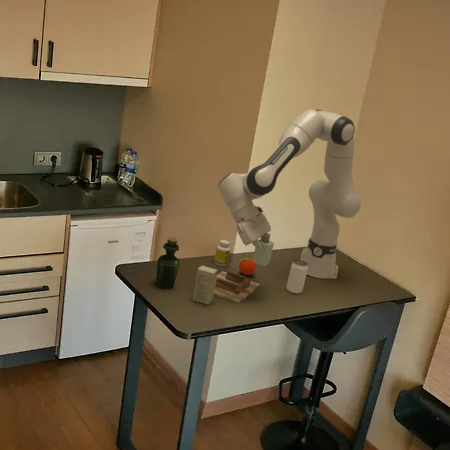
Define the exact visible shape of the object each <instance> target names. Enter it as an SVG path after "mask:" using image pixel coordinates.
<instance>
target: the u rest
mask: <svg viewBox="0 0 450 450" xmlns="http://www.w3.org/2000/svg"><path fill="white" fill-rule="evenodd" d="M259 287H260V284H259V283H256V282H254V281H252V280H251V278H250V277H248V276H245V275H242V274H239V273H235V272H233V271H230V270H228V271H227V272H225V271H221V272H219V273H217V277H216V283H215V288H214V294H213V295H216V296H218V297H220V298H223V299H226V300H229V301H232V302H234V303H237V304H241V302H242V301H244V300H245V299H246V298H247V297H248V296H250V295H251V294H252V293H253V292H255V291H256V290H257V289H258V288H259Z"/></svg>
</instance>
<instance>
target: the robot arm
mask: <svg viewBox="0 0 450 450" xmlns="http://www.w3.org/2000/svg"><path fill="white" fill-rule="evenodd" d="M355 132H356V128H355V124H354V122H353V120H352V119H351V118H349V117H347V116H344V115H341V114H339V113H336V112H333V111H331V112H330V111H325V110H322V109H314V108H313V109H310V108H309V109H306V110H304V111H303V112H302V113H300V114H298V116H296V117H295V119H294V120H293V121H292V122H291V123H290V124H289V125H288V126H287V127H286V129H285V130H284V131H283V133H282V134H281V136H280V137H279V141H278V142H279V143H278V144H279V145H278V147H277V149H276V150H275V151H274V152H273V154H271V155H270V156H269V158H267V160H266V161H265V162H264V163H262V164H259V165H257V166H255V167H253V168H252V169H250V171H249V172H246V173H235V172H232V173H229V174H227V175H226V176H225V177H223V178H222V179H221V180H220V181H219V183H218V185H217V189H218V192H219V194H220V197H221V199H222V201H223V202H224V204H225V206H227V208H228V209H229V211H230V214H231V215H232V218H233V220H234V221H235V223H236V230H237V234H238V235H239V238H240V240H241V242H242V243H243V245H245V246H249V245H251V244H252V245H253V247H256V248H257V249H258V251H259V252H262V251H264V247H263V245H262V246H261V244H260V243H259V240H260V239H261V238H262V239H263V235H264V233H268V234H269V232H271V231H272V229H271V228H272V227H271V225H270V222H269V221H268V219H267V217H266V216H265V214H264V210H263V208H262V207H261V206H258V205H257V206H256V205H254V203H253V200H257V199H260V198H263V197H264V196H265V195H267V194H269V193H271V192H272V191H273V190H274V188H275V186H276V183H277V179H278V176H279V175H280V173H281V172H282V171H283V170H284V169H285V168H286V166H287V165H288V164H289V163H290V161H291V160H293V159H294V158H298V157H300V156H301V155H302V154H303V153H304V152H306V151H307V150H308V149H309V148H310V147H311V145H312V144H313V143H314V142H315V141H316V139H319V140H321V141H323V142H324V141H325V142H326V143H327V144H326V148H325V154H324V165H323V173H324V175H325V176H326V178H327V180H321V179H319V180H316V181H314V182H313V183H312V184H311V185H310V187H309V189H308V197H309V199H310V202H311V203H312V208H313V225H312V231H311V235H310V237H309V239H308V242H307V247H304V248H303V250H302V252H301V255H300V258H299V260H302V261H305V262H307V263H308V265H307V266H308V271H307V275H308V276H311V277H312V278H317V279H331V280H336V279H337V278H338V271H339V265H337V264H336V262H337V261H336V258H337V254H336V252H337V247H338V246H337V244H338V238H339V234H340V230H341V225H340V224H339V222H338V219H337V216H339V217H341V218H346V219H350V218H354V217H355V216H356V215H357V214H358V213H359V212H360V210H361V204H362V202H361V199H360V197H359V196H358V194H357V192H356V189H355V185H354V182H353V176H352V175H353V174H352V172H353V171H352V170H353V160H354V159H353V158H354V152H355V138H354V137H355V135H354V134H355ZM307 275H306V276H307Z"/></svg>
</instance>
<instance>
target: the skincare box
mask: <svg viewBox="0 0 450 450" xmlns="http://www.w3.org/2000/svg"><path fill="white" fill-rule="evenodd" d="M217 275H218V269H216V268H212V267H209V266H206V265H201V266H199V267H198V268H197V271H196V277H195V284H194V291H193V294H192V296H193V297H192V301H195V302H197V303H201V304H204V305H207V306H208V305H210V304H211V303H212V302H213V299H214V295H215V294H214V288H215V283H216V277H217Z"/></svg>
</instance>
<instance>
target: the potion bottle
mask: <svg viewBox="0 0 450 450" xmlns="http://www.w3.org/2000/svg"><path fill="white" fill-rule="evenodd" d="M178 241H179V239H177V238H176V237H172V236H171V237H167V242H165V243H164V244H163V246H162V248H163V249H164V250H165V254H162V255H161V254H160V256H159V257H158V258H157V264H156V265H157V266H156V278H155V284H156V286H157V287H159V288H161V289H164V290H165V289H167V290H169V289H172V288H173V287H174V286H175V282H176V279H177V276H178V272H179V268H180V264H181V261H180V259H179V258H178V257H177V256H175V254H176V252H179V251H180V246H179V244H178Z"/></svg>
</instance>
